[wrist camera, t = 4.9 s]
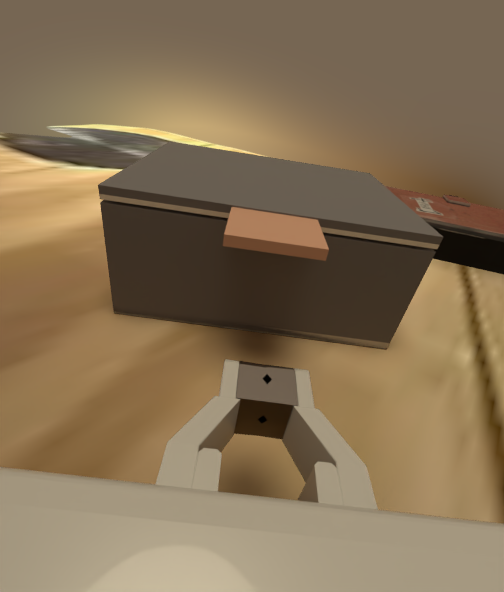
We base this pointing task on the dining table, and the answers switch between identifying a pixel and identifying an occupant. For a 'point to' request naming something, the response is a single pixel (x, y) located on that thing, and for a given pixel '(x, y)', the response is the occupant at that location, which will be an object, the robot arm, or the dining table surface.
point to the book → (461, 229)
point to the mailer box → (256, 279)
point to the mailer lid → (270, 199)
